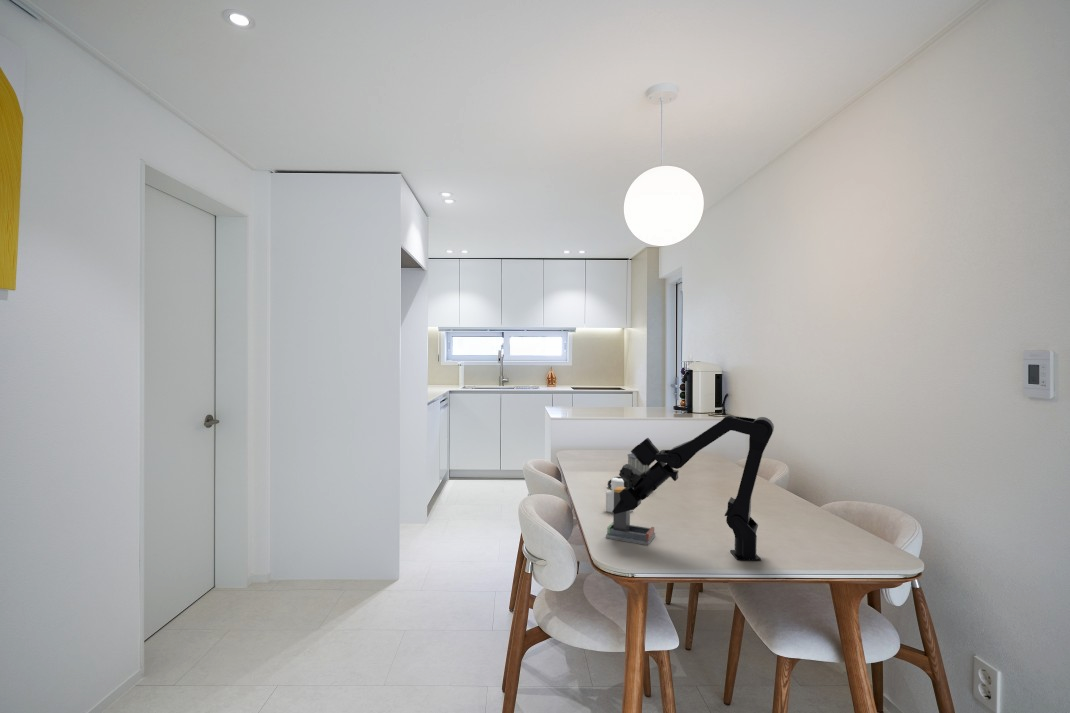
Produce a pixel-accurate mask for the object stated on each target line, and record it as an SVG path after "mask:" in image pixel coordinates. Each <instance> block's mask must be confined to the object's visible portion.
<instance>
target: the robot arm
mask: <svg viewBox="0 0 1070 713" xmlns="http://www.w3.org/2000/svg"><path fill="white" fill-rule="evenodd" d="M774 429H775V425H774V423H773V421H772V420H771V419H770V418H768V417H766V416H759V417H757V418H752V417H747V416H738V415H737V416H736V415H733V414H728V415H725V417H723V418H722V419H721V420H719V421H718V422H717V423H715V424H714V425H712V426H711V427H709V428H708V429H706V430H705V431H703V432H701V433H700V434H699V435H697V436H696V437H694V438H693V439H690V440H689V441H686V442H683V443H681V444H678V445H676V446H674V447H673V448H671V449H661V450H659V449H658V448H657V447H656V446H655V444H654V443H653V442H652V440H651V439H650V438H649V437H647V438H645V439H644V440H643V441H641V442H640V443H638V444H637V445H635V447H633V448H632V449H631V451H630V454H633V455H634V456H635V457H636V458H637V460H638V461H639V462H640V463H641V464H642V465H645V466H646V465H647V466H649V465H651V467H650V466H649V469H648V470H647V471H645V472H643V473H641V472H640V471H639V470H637V469H636V468H634V467H632V466H630V465H629V464H628V463H625V464H623V466H622V467H621V469H620V470H619V473H618V475H619V476H618V477H623V478H625V479H627V480H628V481H630V482H632V483H631V484H630V485H631V486H632V488H631V487H626V488H625V489H623V490H622V491H621V492H620V493H619V496H620V501H619V502H618V504H617V505H616V507H615V508H614V510H613V511H612V512H613V513H612V514H613V515H614V514H618V513H621V512H625V511H629V510H633V511H634V510H635V509H637V508H638V507H639V506H640V505H641V504H642V501H644V500H645V499H647V498H648V497H650V496H651V495H652V494H653V493H654V492H655V491H656V489H658V488H660V486H662V485H663V483H665V482H666V481H668V479H670V478H671V479H672V480H673V481H674V482H676V481H677V480H678V479H679V473H680V472H679V469H682V467H684V465H686V463H688V462H690V461H691V459H692V458H693V457H694V456H695V455H696V454H697V453H698V452H699V451H701V450H703V449H704V448H705V447H707V446H709V445H710V444H712V443H713V442H715V441H716V440H718V439H719V438H721V437H722V436H724V435H725V434H727V433H728V432H730V431H734V432H737V433H741V434H743V435H748V436H749V437H748V438H749V440H748V453H747V456H746V460H745V464H744V468H743V471H742V475H741V478H740V483H739V487H738V490H737V494H736V497H735V498H734V497H730V498H729V500H728V502H727V509H726V511H725V514H724V517H726V519H725V520H726V525H727V527H729V528H730V529H731V530H732V532H733V534H734V535H733V536H734V549H730V551H729V552H730V553H731V554H732V556H734V558H735V559H736V560H738V561H761V560H762V558H761V557H760V556H759V555H758V554H757V540H758V539H757V538H758V536H757V531H758V527H759V524H758V523H757V522H756V521H755V519H754V518H752V516H751V511H752V495H753V491H754V488H755V485H756V480H757V476H758V474H759V469H760V466H761V461H762V457H763V455H764V451H765V449H766V447H767V446H768V444H769V441H770V439H771V437H772V435H773V433H774ZM655 461H656V462H655ZM653 463H654V464H653ZM652 464H653V465H652Z"/></svg>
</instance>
